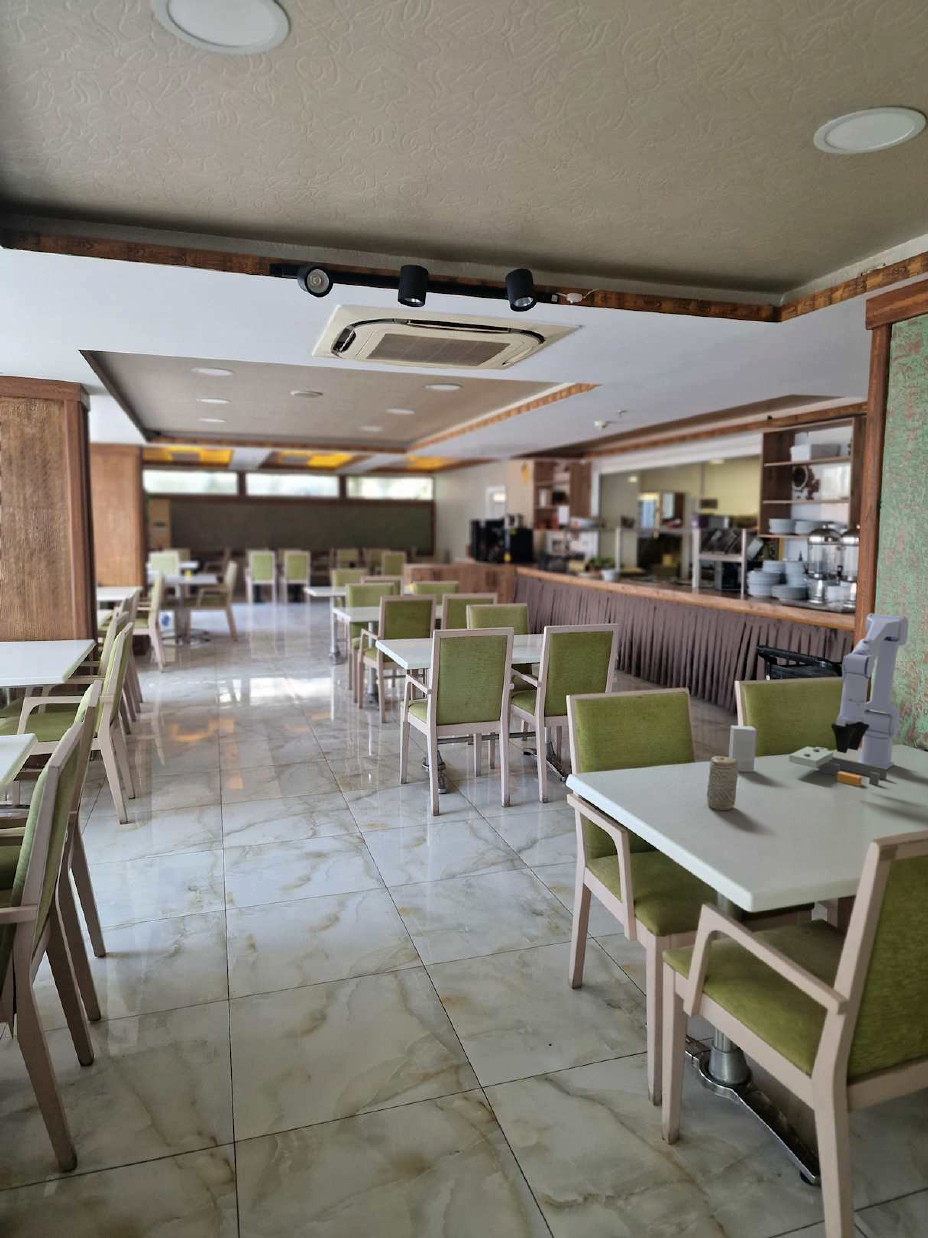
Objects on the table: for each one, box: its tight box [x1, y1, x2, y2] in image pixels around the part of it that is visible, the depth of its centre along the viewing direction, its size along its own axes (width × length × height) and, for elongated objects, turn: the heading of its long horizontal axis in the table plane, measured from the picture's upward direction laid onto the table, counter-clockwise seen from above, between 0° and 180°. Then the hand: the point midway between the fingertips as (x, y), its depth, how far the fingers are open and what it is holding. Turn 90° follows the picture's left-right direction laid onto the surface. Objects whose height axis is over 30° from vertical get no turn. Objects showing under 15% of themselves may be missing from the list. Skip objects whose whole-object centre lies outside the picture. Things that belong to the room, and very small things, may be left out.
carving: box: [706, 755, 739, 811], centre depth 182 cm, size 6×8×12 cm
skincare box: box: [728, 725, 757, 773], centre depth 213 cm, size 6×4×12 cm
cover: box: [788, 746, 834, 769], centre depth 213 cm, size 7×15×6 cm, turn 136°
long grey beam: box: [818, 756, 888, 786], centre depth 212 cm, size 8×15×3 cm, turn 46°
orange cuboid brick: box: [836, 770, 863, 787], centre depth 205 cm, size 2×5×2 cm, turn 44°
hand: (847, 751), depth 202 cm, fingers open, 7 cm apart
